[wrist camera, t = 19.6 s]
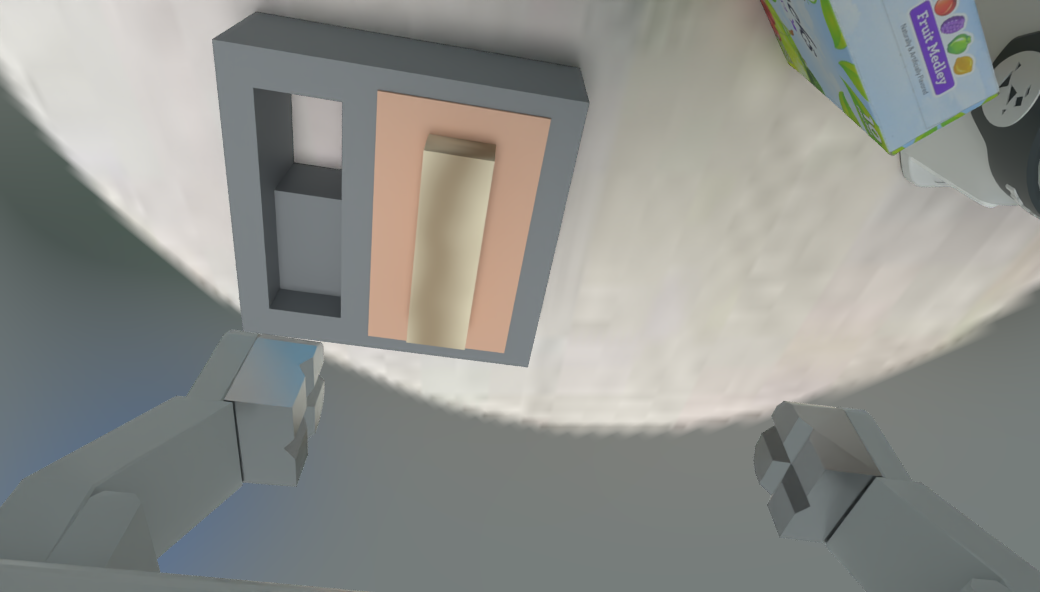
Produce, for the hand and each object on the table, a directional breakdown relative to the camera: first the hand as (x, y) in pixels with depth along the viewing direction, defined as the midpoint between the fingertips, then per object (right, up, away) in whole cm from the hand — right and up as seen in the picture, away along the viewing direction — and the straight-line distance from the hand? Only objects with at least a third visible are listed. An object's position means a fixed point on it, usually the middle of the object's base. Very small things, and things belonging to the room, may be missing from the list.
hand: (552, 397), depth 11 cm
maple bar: (-5, +5, +30) cm, 31 cm away
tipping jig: (-9, +10, +36) cm, 38 cm away
